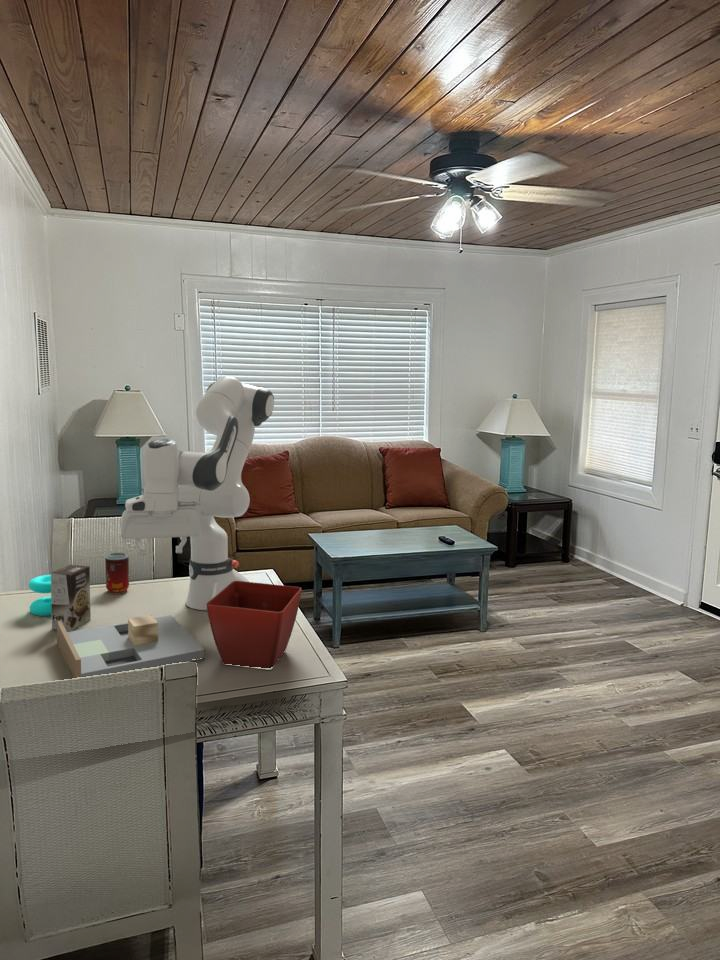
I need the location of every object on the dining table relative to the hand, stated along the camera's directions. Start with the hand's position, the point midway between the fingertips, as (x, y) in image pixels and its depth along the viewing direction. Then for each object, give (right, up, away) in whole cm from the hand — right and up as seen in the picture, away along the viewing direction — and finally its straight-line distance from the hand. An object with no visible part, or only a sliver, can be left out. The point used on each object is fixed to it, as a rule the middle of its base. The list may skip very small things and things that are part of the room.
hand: (160, 553), depth 175 cm
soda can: (-26, -17, +40) cm, 51 cm away
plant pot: (+26, -26, -6) cm, 37 cm away
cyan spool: (-39, -19, +21) cm, 48 cm away
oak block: (-4, -22, -3) cm, 22 cm away
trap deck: (-7, -24, -4) cm, 26 cm away
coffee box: (-28, -21, +11) cm, 37 cm away
